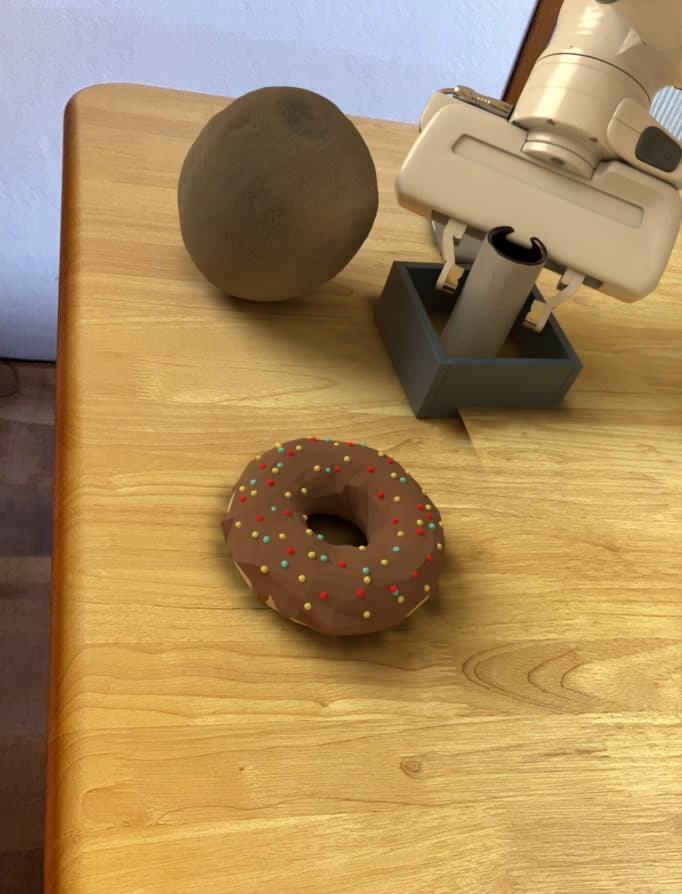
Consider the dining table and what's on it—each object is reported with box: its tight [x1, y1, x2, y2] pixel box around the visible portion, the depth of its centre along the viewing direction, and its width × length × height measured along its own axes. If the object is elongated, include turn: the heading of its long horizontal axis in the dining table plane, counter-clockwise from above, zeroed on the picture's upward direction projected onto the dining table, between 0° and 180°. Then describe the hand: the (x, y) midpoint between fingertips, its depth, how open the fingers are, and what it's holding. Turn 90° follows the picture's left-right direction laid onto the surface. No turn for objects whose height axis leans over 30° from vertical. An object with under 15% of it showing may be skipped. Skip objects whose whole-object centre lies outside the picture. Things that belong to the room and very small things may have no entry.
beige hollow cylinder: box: [439, 226, 548, 358], centre depth 65 cm, size 4×4×10 cm
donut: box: [219, 435, 446, 637], centre depth 53 cm, size 14×14×5 cm
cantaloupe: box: [176, 85, 380, 302], centre depth 65 cm, size 14×14×15 cm
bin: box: [373, 260, 585, 419], centre depth 68 cm, size 12×12×5 cm
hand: (487, 309), depth 65 cm, fingers open, 5 cm apart
